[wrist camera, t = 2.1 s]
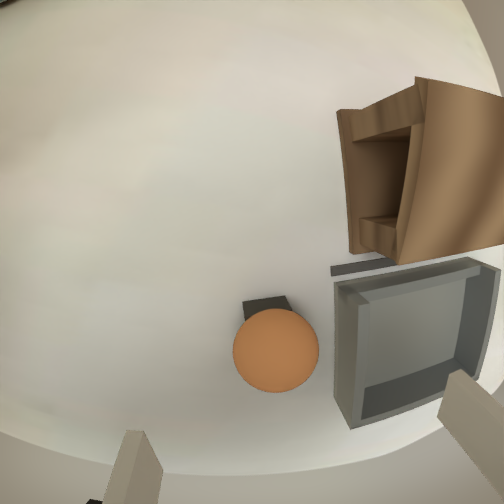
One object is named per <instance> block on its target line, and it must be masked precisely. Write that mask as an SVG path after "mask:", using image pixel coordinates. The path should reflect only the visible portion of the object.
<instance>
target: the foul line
mask: <svg viewBox="0 0 504 504" xmlns="http://www.w3.org/2000/svg"><path fill="white" fill-rule="evenodd" d="M396 265H397V264H396V262H395V261H394V260H392V259H390V258H388V257H387V258H381V259H375V260H368V261H362V262H356V263H350V264H343V265H337V266H331V276H337V275H344V274H350V273H356V272H361V271H367V270H373V269H379V268H384V267H390V266H396Z"/></svg>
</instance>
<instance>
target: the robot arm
mask: <svg viewBox="0 0 504 504" xmlns="http://www.w3.org/2000/svg"><path fill="white" fill-rule="evenodd" d="M437 418H438V419H439V420H440V421H441V423H442V424H443V425H444V426H445V427H446V429H447V430H448V431H449V432H450V434H451V435H452V436H453V437H454V438H455V440H456V441H457V442H458V443H459V445H460V446H461V447H462V448H463V450H464V451H465V452H466V453H467V455H468V456H469V457H470V459H471V460H472V461H473V462H474V464H475V465H476V466H477V467H478V469H479V470H480V471H481V473H482V474H483V475H484V476H485V478H486V479H487V480H488V482H489V483H490V484H491V486H492V487H493V488H494V489H495V491H496V492H497V493H498V495H499V496H500V497H501V499H502V500H503V501H504V407H503V406H502V405H501V404H500V403H499V402H497V401H496V400H495V399H494V398H493V397H492V396H491V395H490V394H489V393H488V392H487V391H485V390H484V389H483V388H482V387H481V386H480V385H479V384H478V383H477V382H476V381H474V380H473V379H472V378H471V377H470V376H469V375H468V374H467V373H465V372H464V371H463V370H462V369H460V370H457V371H455V372H453V373H450V374H449V377H448V381H447V385H446V388H445V392H444V395H443V399H442V402H441V406H440V409H439V412H438V415H437ZM162 474H163V469H162V467H161V465H160V463H159V461H158V459H157V457H156V455H155V453H154V451H153V449H152V447H151V445H150V443H149V441H148V439H147V437H146V435H145V433H144V431H131V430H126V433H125V436H124V439H123V442H122V445H121V447H120V450H119V453H118V456H117V459H116V462H115V465H114V468H113V471H112V474H111V477H110V480H109V483H108V486H107V489H106V493H105V496H104V499H103V501H98V500H93V499H90V500H89V501H88V502H87V503H86V504H157V503H158V497H159V491H160V486H161V480H162Z"/></svg>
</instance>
